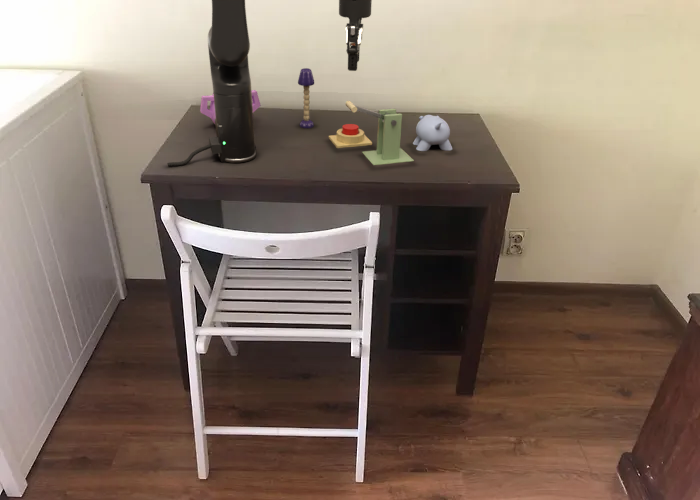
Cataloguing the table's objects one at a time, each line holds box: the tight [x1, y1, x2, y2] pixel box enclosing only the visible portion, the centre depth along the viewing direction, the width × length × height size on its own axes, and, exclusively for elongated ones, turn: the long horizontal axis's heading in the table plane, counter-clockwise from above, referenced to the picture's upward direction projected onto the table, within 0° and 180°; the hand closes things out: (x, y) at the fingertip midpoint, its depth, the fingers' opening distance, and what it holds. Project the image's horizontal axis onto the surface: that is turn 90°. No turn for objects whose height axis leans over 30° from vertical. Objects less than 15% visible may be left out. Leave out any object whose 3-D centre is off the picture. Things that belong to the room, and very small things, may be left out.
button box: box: [328, 128, 373, 149], centre depth 163 cm, size 10×8×4 cm
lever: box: [345, 100, 390, 122], centre depth 147 cm, size 13×5×2 cm, turn 108°
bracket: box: [361, 108, 415, 166], centre depth 152 cm, size 11×9×13 cm
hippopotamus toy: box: [412, 114, 453, 152], centre depth 162 cm, size 11×15×10 cm
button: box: [341, 123, 360, 135], centre depth 162 cm, size 4×4×2 cm
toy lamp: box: [297, 67, 315, 129], centre depth 171 cm, size 5×5×17 cm
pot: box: [199, 89, 262, 125], centre depth 171 cm, size 18×17×12 cm
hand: (353, 65), depth 145 cm, fingers open, 8 cm apart
